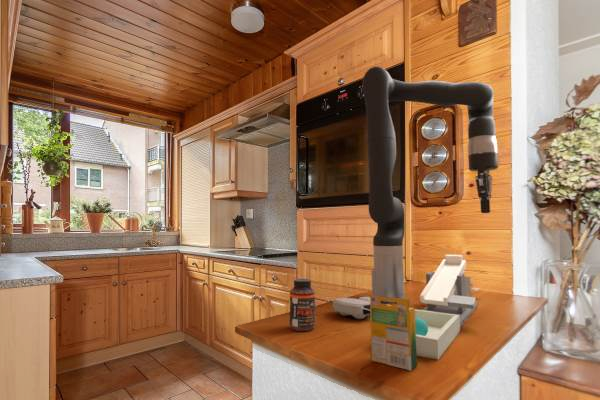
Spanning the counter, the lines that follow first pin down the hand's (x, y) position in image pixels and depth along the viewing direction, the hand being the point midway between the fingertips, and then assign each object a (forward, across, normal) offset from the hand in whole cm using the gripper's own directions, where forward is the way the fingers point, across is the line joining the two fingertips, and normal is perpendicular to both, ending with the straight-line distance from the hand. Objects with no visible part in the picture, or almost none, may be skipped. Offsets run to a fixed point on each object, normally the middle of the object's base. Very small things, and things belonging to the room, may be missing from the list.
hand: (485, 212), depth 99 cm
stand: (+27, +12, -9) cm, 31 cm away
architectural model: (+28, -12, -9) cm, 32 cm away
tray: (+27, +36, -9) cm, 46 cm away
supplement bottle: (+27, +44, -34) cm, 62 cm away
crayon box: (+27, +52, -9) cm, 59 cm away
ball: (+24, +38, -9) cm, 46 cm away
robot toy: (+27, +25, -28) cm, 47 cm away
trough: (+21, +11, -6) cm, 25 cm away
